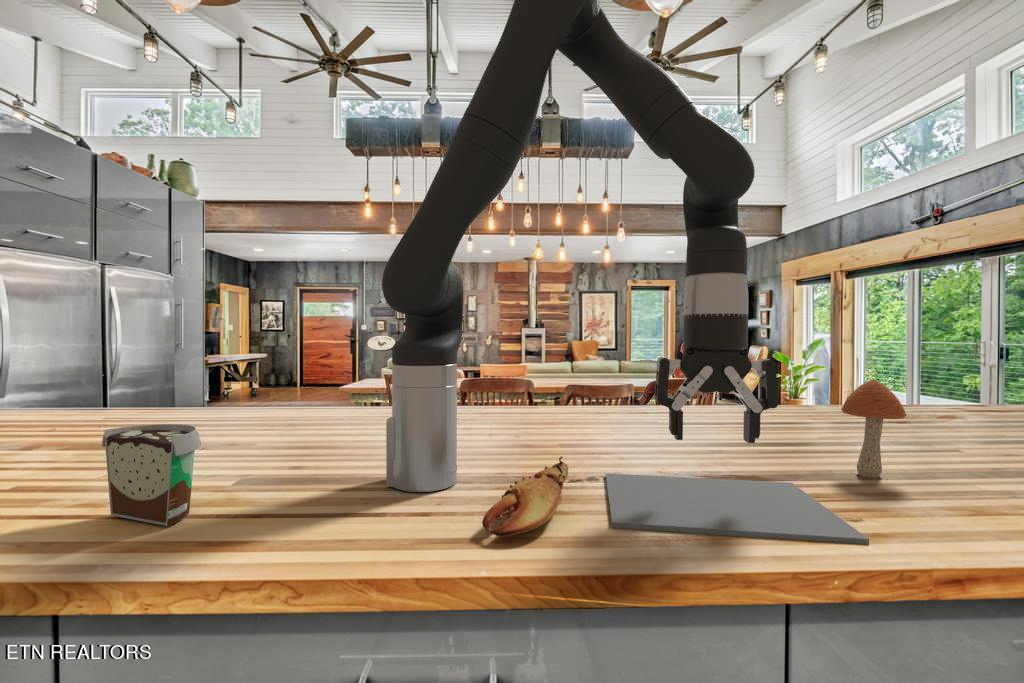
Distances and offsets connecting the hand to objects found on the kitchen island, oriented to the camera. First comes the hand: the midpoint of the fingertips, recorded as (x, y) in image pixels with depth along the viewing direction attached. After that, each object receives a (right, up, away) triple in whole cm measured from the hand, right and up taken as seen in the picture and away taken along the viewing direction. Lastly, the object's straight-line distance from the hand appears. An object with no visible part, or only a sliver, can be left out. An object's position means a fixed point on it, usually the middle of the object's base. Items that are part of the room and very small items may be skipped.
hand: (713, 440), depth 61 cm
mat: (0, -8, 0) cm, 8 cm away
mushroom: (+29, -8, +12) cm, 33 cm away
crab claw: (-18, -5, +6) cm, 19 cm away
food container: (-67, -8, -3) cm, 68 cm away
